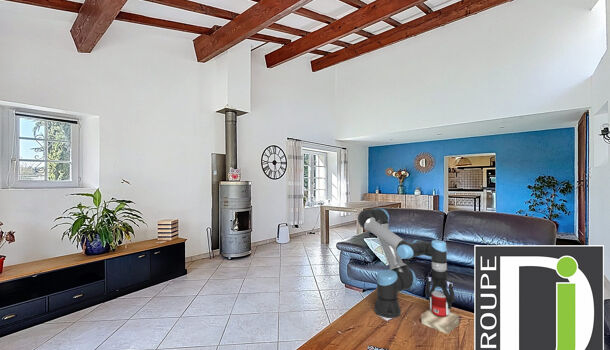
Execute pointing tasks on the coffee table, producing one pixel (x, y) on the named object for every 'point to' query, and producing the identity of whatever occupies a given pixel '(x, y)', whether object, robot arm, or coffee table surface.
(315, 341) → the coffee table surface
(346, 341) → the coffee table surface
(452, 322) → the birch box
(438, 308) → the canned food
